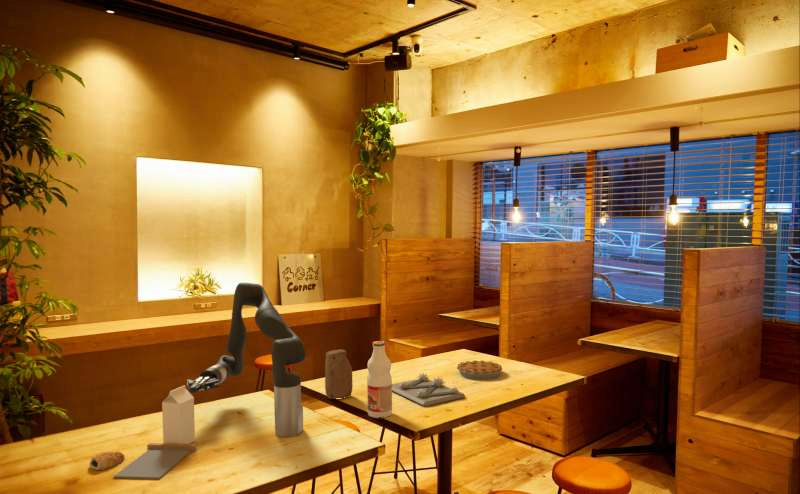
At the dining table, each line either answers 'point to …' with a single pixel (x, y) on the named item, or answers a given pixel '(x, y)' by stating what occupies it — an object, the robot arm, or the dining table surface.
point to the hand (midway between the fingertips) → (192, 390)
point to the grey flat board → (156, 461)
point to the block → (338, 374)
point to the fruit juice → (379, 382)
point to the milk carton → (178, 417)
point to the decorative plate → (427, 391)
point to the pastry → (106, 460)
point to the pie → (479, 369)
